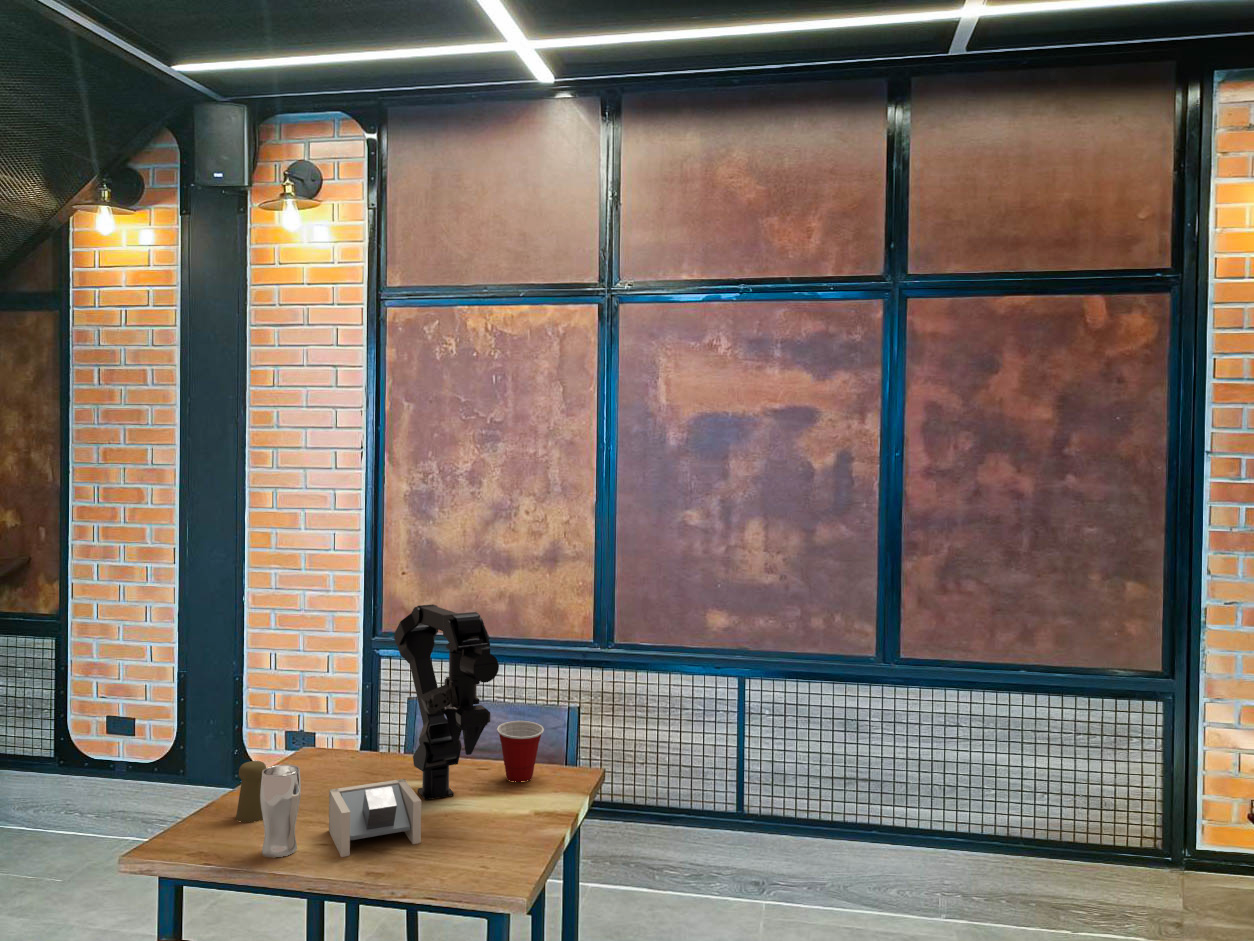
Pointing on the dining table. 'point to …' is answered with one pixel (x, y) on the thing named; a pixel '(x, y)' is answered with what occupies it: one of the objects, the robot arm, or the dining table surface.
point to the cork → (250, 792)
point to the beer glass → (280, 809)
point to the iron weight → (379, 807)
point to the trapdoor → (357, 818)
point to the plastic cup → (519, 748)
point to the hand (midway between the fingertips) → (461, 748)
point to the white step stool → (341, 814)
